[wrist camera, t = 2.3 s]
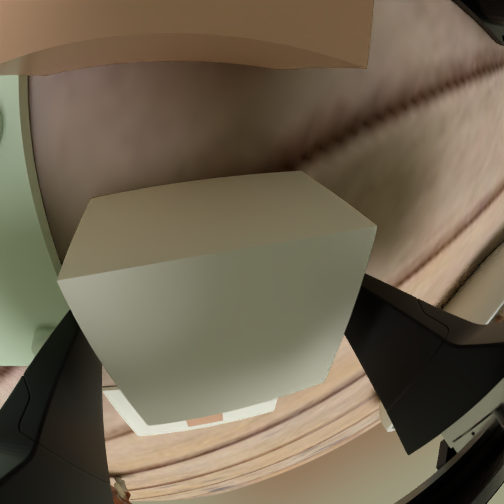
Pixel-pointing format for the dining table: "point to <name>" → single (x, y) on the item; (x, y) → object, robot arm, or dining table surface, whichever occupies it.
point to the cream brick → (216, 289)
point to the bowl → (475, 301)
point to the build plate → (23, 238)
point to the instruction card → (143, 429)
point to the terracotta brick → (183, 33)
